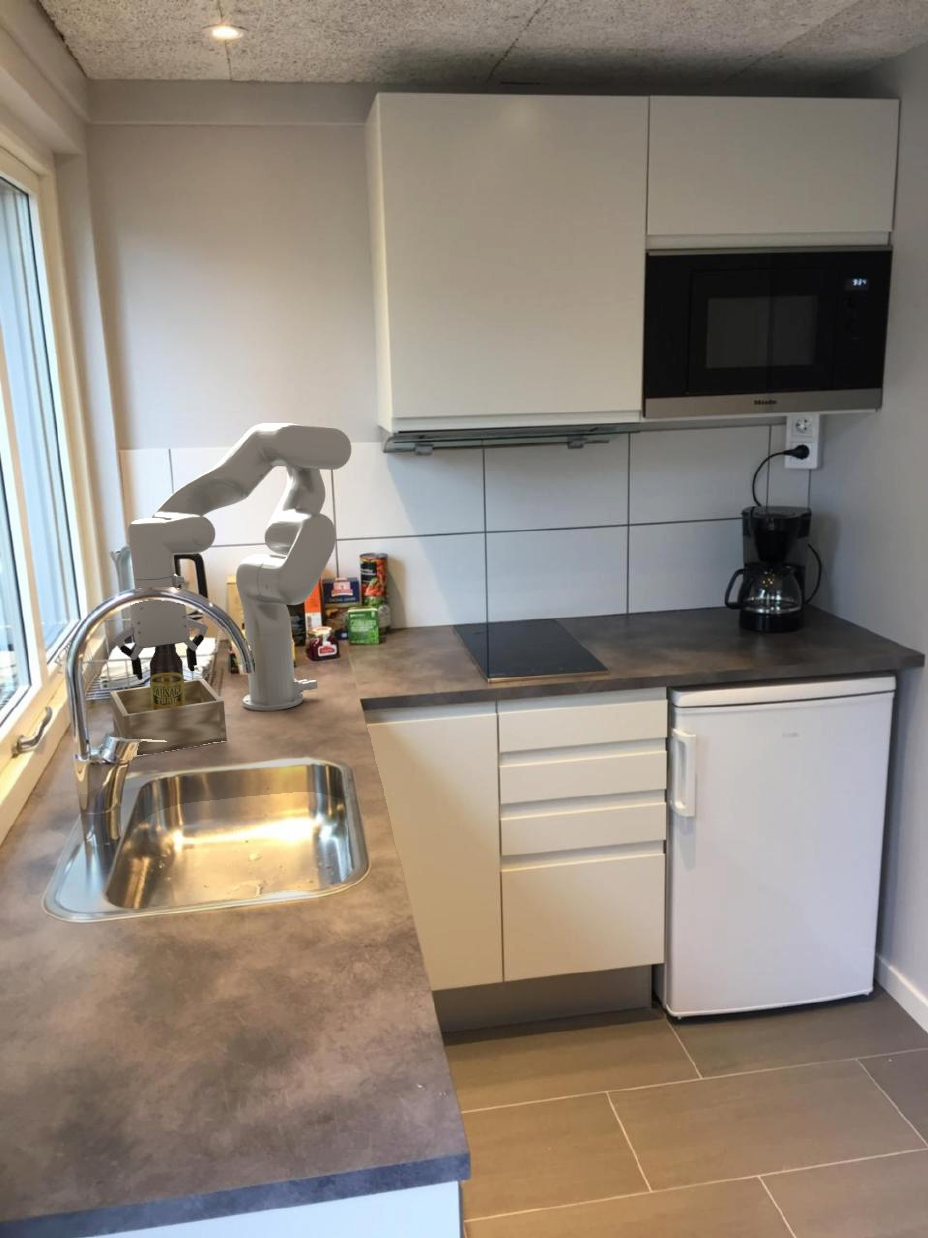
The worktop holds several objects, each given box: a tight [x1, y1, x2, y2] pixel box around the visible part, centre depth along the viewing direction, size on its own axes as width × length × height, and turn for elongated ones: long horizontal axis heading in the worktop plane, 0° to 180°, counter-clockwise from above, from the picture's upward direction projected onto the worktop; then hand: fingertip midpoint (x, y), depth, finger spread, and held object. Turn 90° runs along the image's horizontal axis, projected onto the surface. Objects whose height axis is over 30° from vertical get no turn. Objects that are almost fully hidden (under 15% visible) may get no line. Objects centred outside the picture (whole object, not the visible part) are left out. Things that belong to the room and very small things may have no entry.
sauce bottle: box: [149, 644, 185, 710], centre depth 192 cm, size 7×6×20 cm
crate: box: [109, 678, 228, 755], centre depth 193 cm, size 18×18×8 cm
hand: (165, 673), depth 192 cm, fingers open, 9 cm apart
